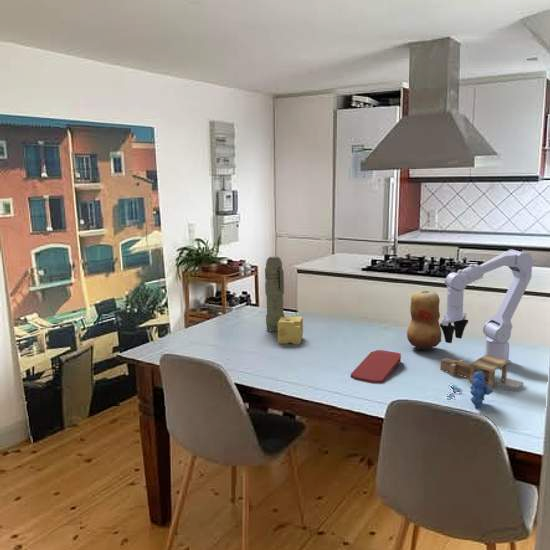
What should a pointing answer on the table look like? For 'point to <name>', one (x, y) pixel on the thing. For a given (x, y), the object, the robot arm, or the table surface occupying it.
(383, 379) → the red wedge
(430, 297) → the butternut squash
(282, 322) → the cheese
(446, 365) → the brown wooden stepped bar
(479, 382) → the grapes
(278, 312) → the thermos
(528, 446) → the table surface
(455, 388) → the decorative blades
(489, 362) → the small wooden table
